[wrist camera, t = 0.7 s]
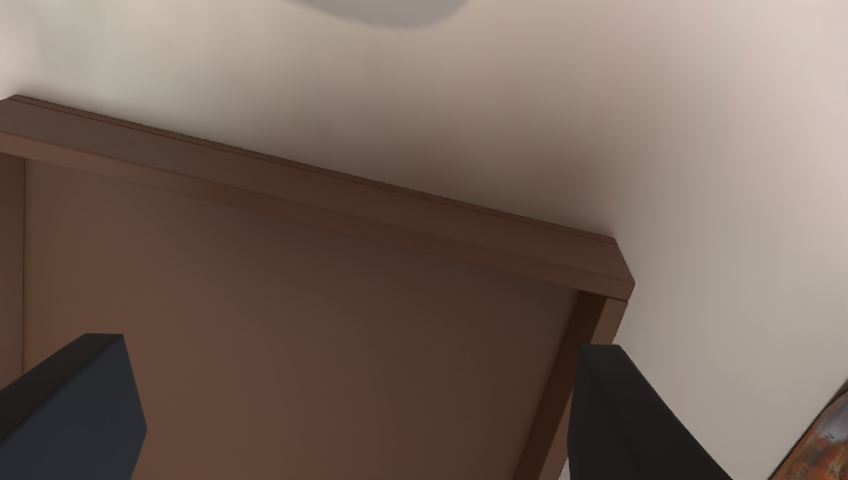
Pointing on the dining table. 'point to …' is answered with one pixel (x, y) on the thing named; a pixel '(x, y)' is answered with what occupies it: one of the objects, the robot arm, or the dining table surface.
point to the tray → (296, 306)
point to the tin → (821, 448)
